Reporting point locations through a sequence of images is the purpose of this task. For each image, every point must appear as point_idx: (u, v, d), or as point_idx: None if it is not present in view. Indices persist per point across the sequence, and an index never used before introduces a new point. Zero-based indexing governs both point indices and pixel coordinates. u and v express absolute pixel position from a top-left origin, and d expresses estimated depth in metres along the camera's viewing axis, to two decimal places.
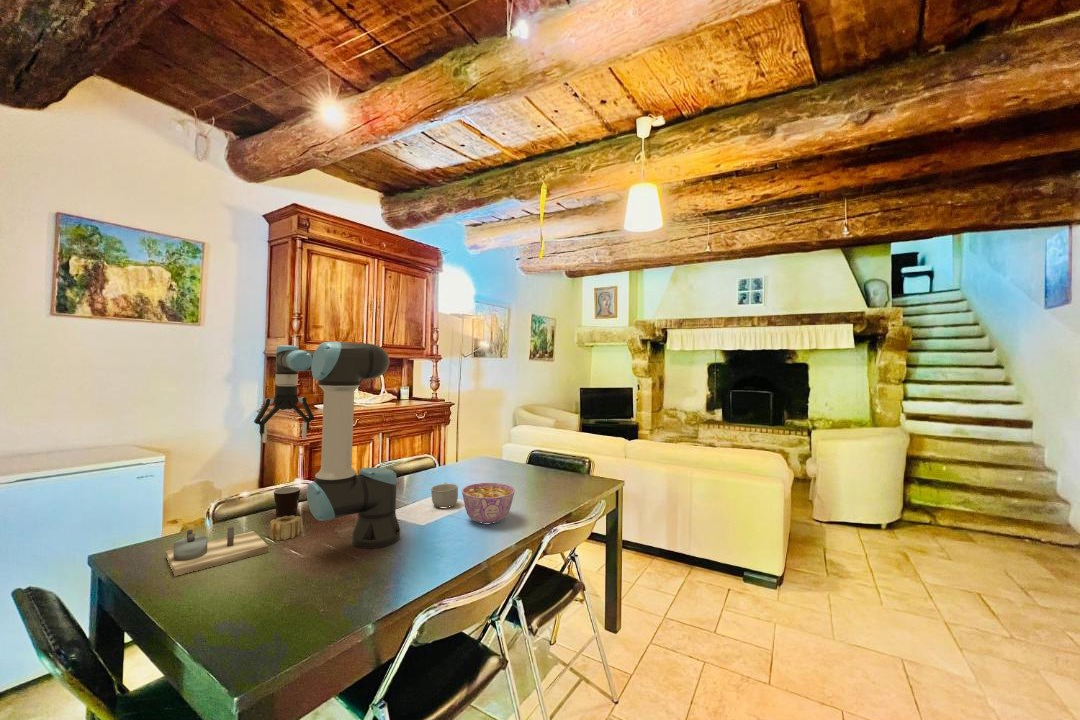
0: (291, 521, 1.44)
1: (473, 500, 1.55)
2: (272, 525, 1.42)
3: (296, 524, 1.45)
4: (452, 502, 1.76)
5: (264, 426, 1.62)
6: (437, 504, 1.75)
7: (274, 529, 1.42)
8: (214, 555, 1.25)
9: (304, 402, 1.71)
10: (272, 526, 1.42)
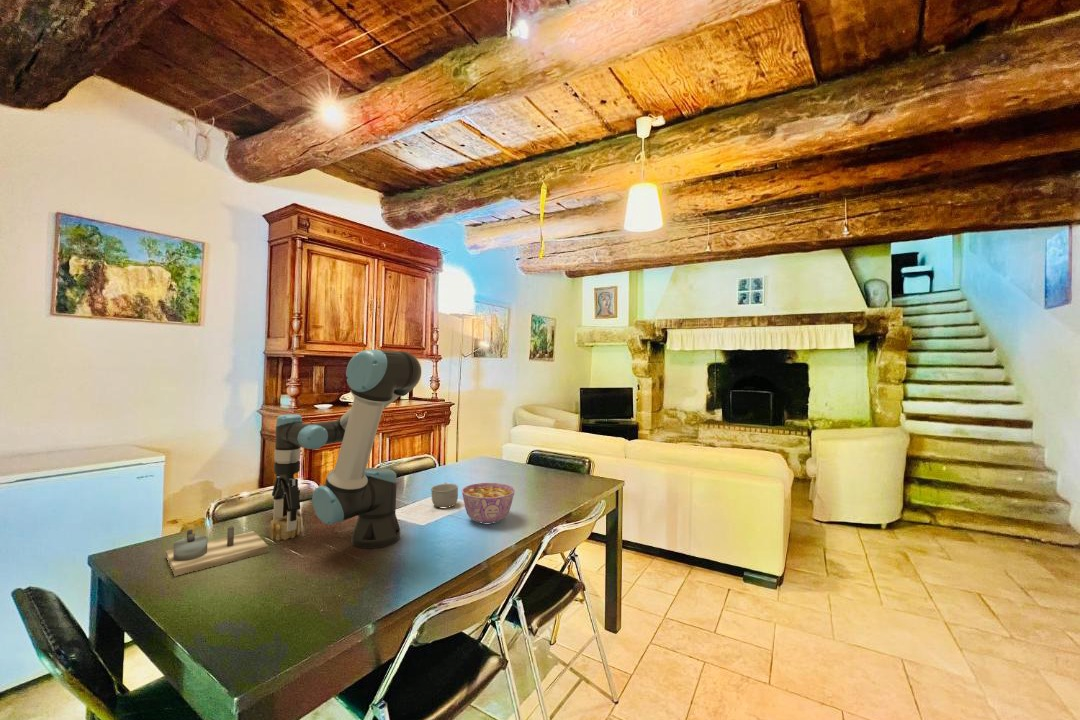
0: None
1: (473, 500, 1.55)
2: (272, 525, 1.42)
3: None
4: (452, 502, 1.76)
5: None
6: (437, 504, 1.75)
7: (274, 529, 1.42)
8: (214, 555, 1.25)
9: (288, 486, 1.41)
10: (272, 526, 1.42)
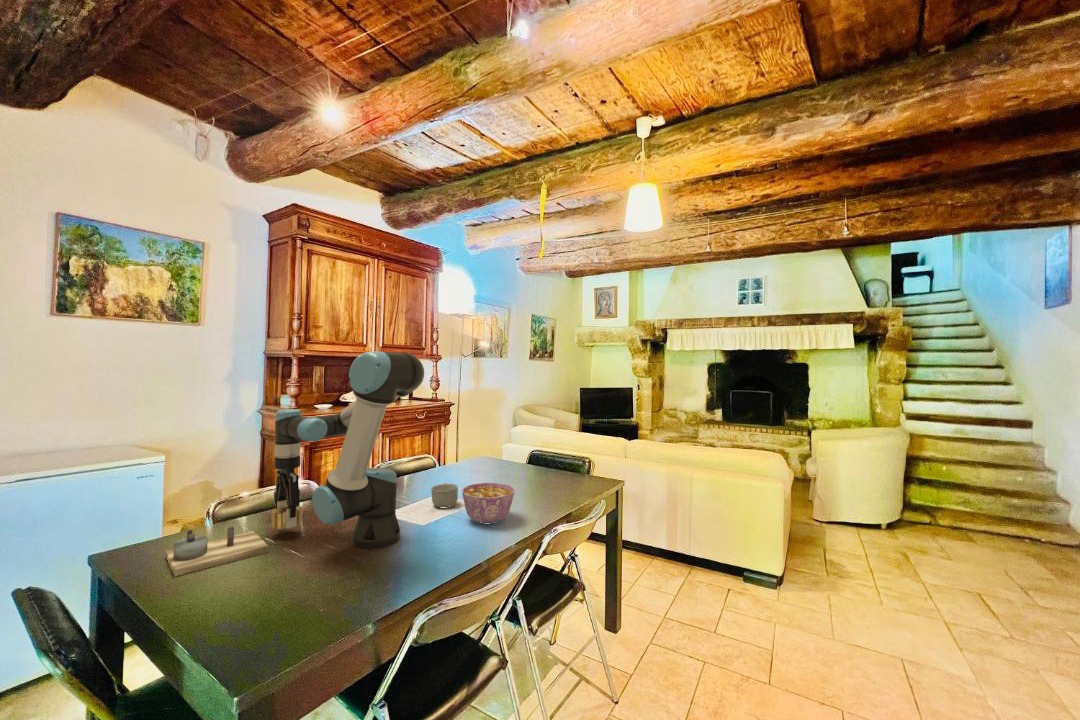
0: None
1: (473, 500, 1.55)
2: (273, 514, 1.42)
3: (297, 513, 1.45)
4: (452, 502, 1.76)
5: None
6: (437, 504, 1.75)
7: (275, 518, 1.42)
8: (214, 555, 1.25)
9: (289, 482, 1.41)
10: (273, 515, 1.42)
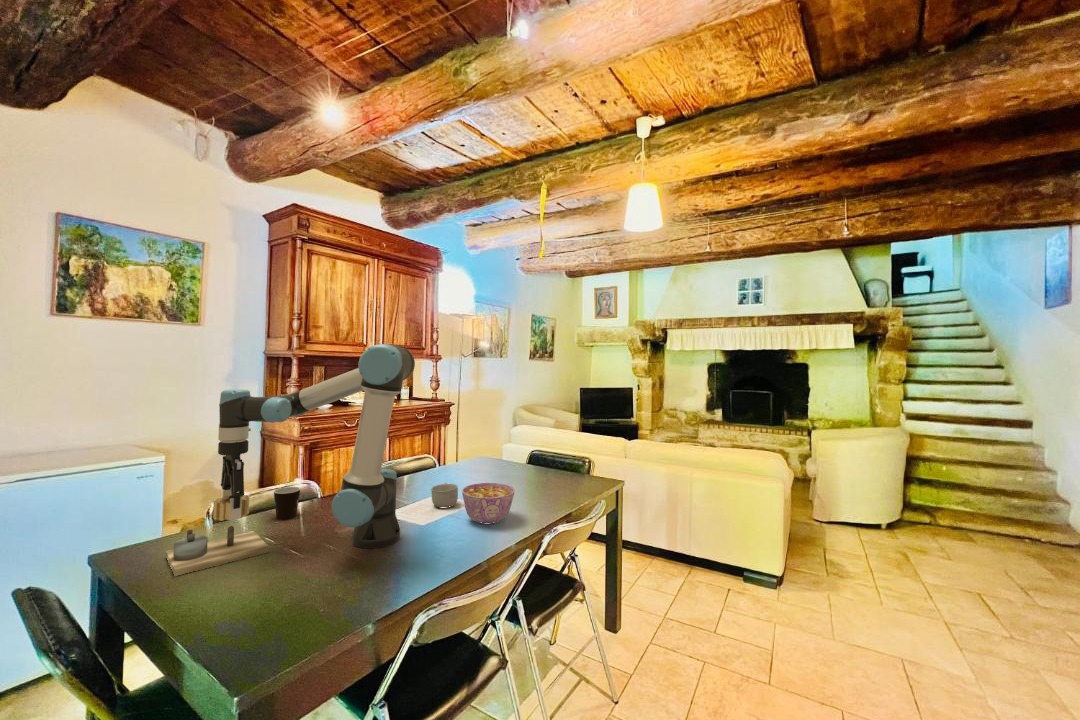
0: None
1: (473, 500, 1.55)
2: (215, 504, 1.28)
3: (243, 503, 1.32)
4: (452, 502, 1.76)
5: None
6: (437, 504, 1.75)
7: (217, 508, 1.28)
8: (214, 555, 1.25)
9: (233, 469, 1.27)
10: (215, 505, 1.28)
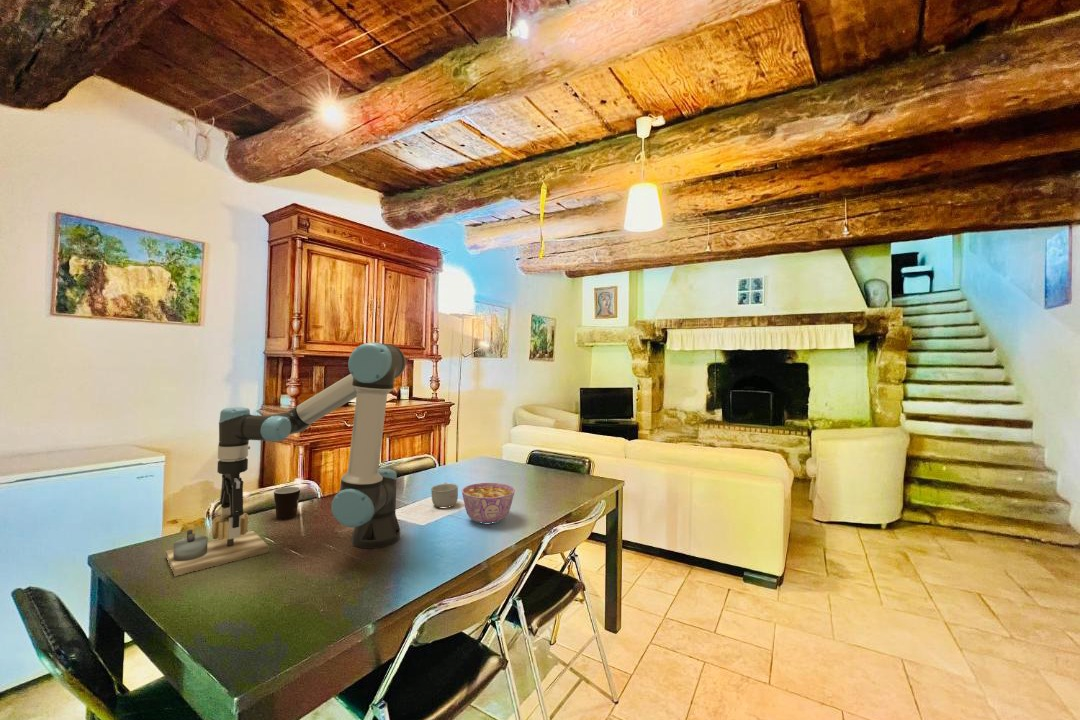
0: None
1: (473, 500, 1.55)
2: (214, 523, 1.28)
3: (242, 522, 1.31)
4: (452, 502, 1.76)
5: None
6: (437, 504, 1.75)
7: (216, 527, 1.28)
8: (214, 555, 1.25)
9: (232, 488, 1.27)
10: (214, 524, 1.28)
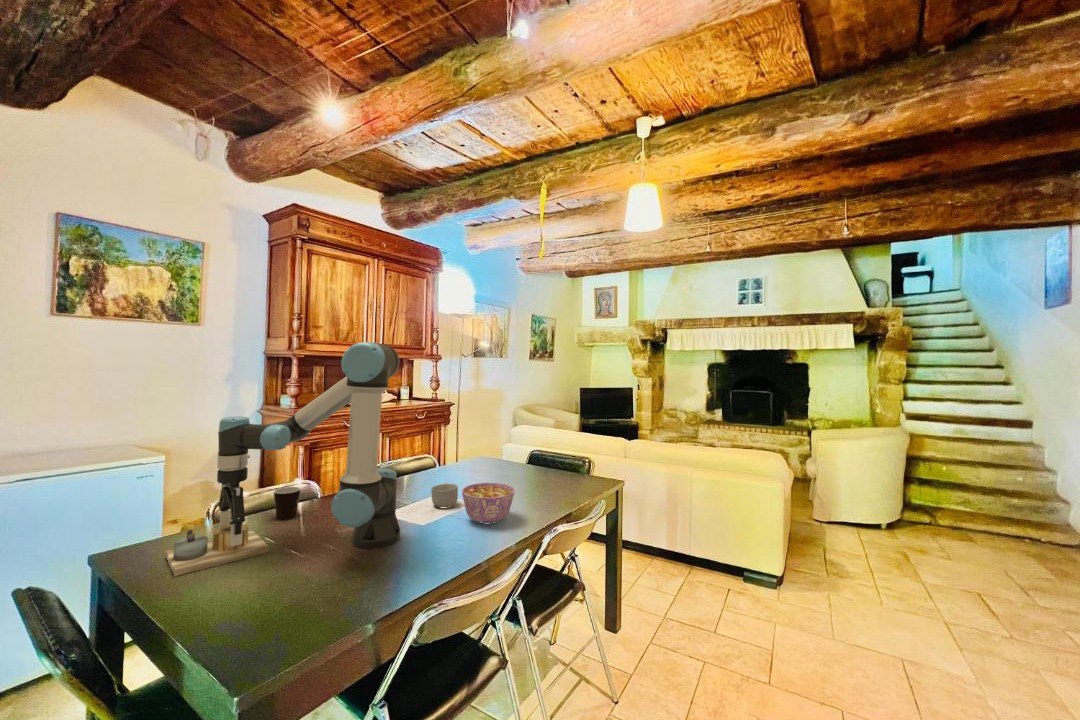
0: None
1: (473, 500, 1.55)
2: (214, 535, 1.28)
3: (242, 533, 1.31)
4: (452, 502, 1.76)
5: None
6: (437, 504, 1.75)
7: (217, 539, 1.28)
8: (214, 555, 1.25)
9: (232, 495, 1.27)
10: (214, 536, 1.28)
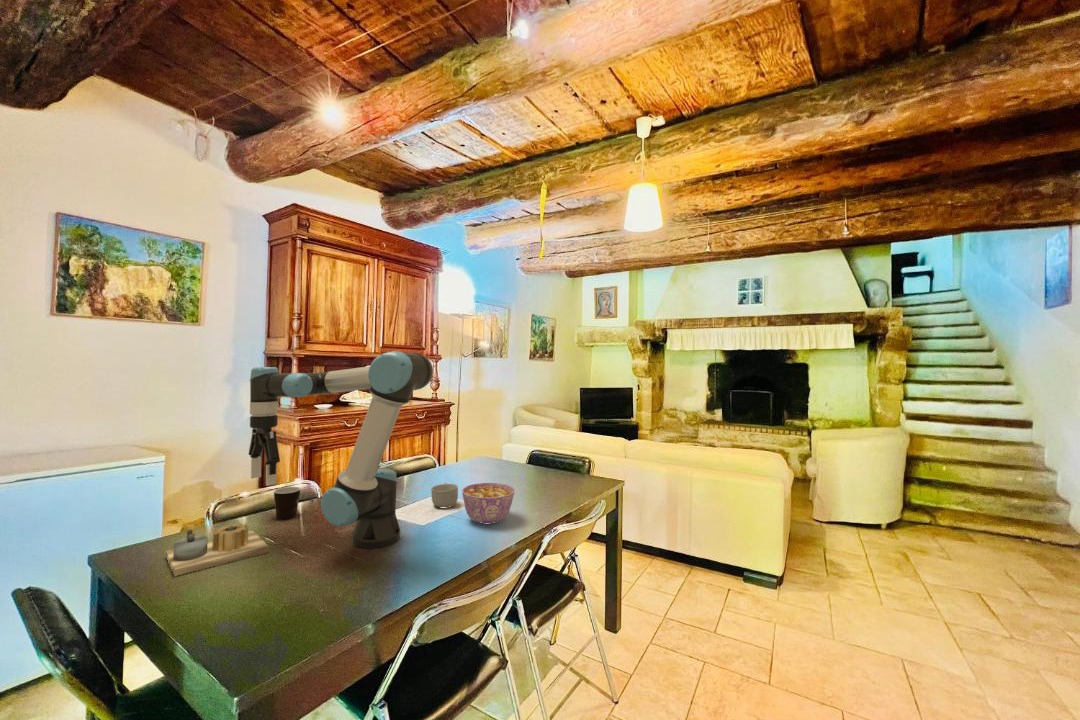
0: (236, 530, 1.31)
1: (473, 500, 1.55)
2: (214, 535, 1.28)
3: (242, 533, 1.31)
4: (452, 502, 1.76)
5: None
6: (437, 504, 1.75)
7: (217, 539, 1.28)
8: (214, 555, 1.25)
9: (266, 438, 1.35)
10: (214, 536, 1.28)
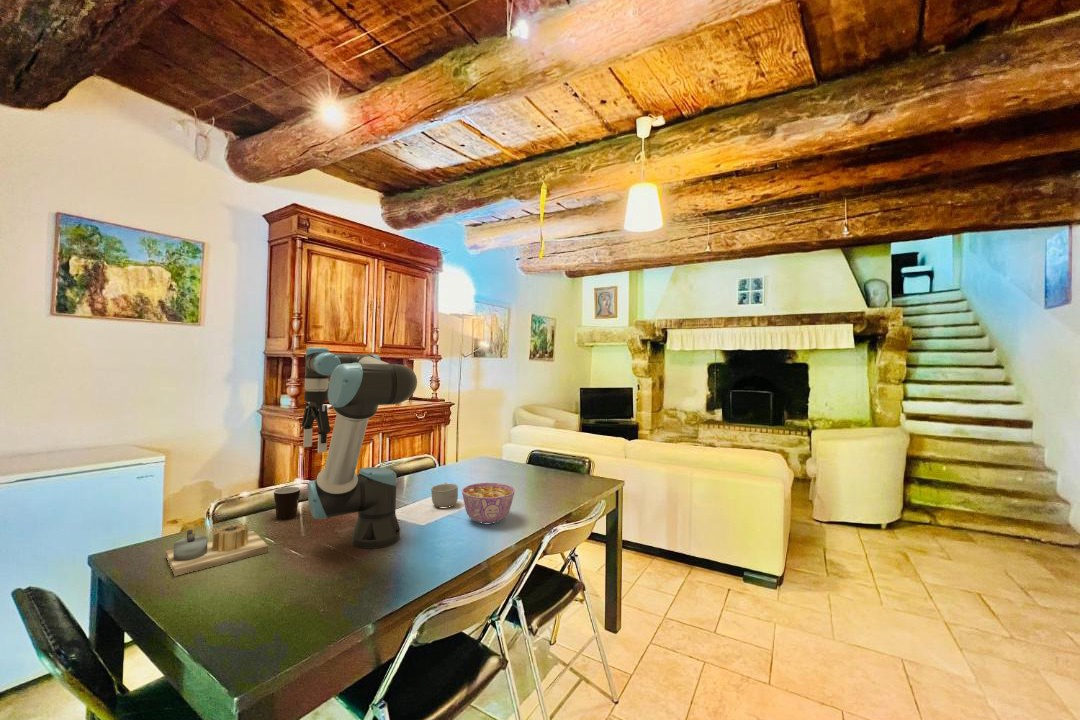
0: (236, 530, 1.31)
1: (473, 500, 1.55)
2: (214, 535, 1.28)
3: (242, 533, 1.31)
4: (452, 502, 1.76)
5: None
6: (437, 504, 1.75)
7: (217, 539, 1.28)
8: (214, 555, 1.25)
9: (319, 411, 1.51)
10: (214, 536, 1.28)
